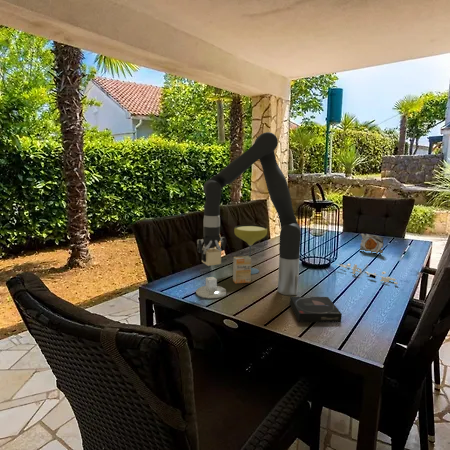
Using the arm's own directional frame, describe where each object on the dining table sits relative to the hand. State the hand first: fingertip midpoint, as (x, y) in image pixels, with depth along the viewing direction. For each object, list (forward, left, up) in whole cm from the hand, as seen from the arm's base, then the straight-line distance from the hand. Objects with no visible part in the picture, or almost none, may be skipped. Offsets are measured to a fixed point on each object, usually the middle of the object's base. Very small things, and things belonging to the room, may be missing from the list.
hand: (211, 260), depth 156 cm
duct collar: (0, 0, -1) cm, 1 cm away
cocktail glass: (-10, -37, -16) cm, 41 cm away
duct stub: (0, 0, -16) cm, 16 cm away
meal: (-80, -101, -16) cm, 130 cm away
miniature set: (-73, -52, -16) cm, 91 cm away
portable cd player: (-47, +6, -17) cm, 50 cm away
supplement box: (-10, -19, -16) cm, 27 cm away
